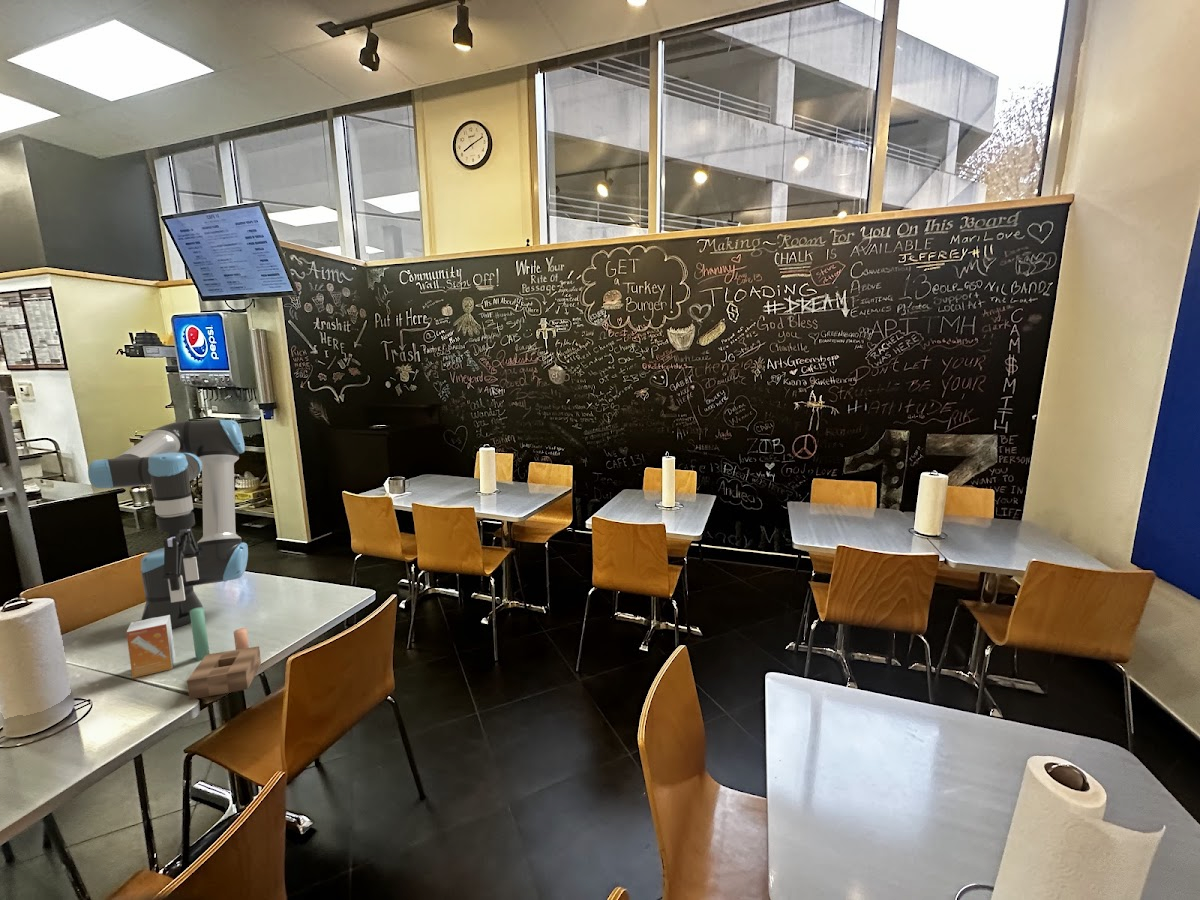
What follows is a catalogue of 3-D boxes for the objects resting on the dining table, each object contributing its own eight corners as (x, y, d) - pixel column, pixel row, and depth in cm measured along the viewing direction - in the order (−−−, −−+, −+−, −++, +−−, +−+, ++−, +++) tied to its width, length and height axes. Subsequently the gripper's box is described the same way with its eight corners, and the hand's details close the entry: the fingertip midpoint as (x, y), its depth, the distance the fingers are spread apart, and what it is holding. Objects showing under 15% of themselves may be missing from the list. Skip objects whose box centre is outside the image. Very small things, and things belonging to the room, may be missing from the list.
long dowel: (198, 655, 142) (192, 608, 139) (211, 653, 143) (205, 606, 140) (194, 661, 139) (187, 613, 137) (207, 659, 140) (201, 611, 138)
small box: (132, 679, 131) (125, 632, 129) (137, 667, 136) (130, 621, 134) (172, 669, 135) (166, 623, 133) (176, 658, 140) (170, 613, 138)
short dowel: (238, 652, 143) (235, 629, 142) (250, 650, 144) (248, 627, 143) (234, 658, 140) (232, 634, 139) (247, 655, 141) (244, 632, 140)
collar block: (208, 672, 134) (205, 654, 133) (260, 663, 138) (259, 646, 137) (189, 699, 123) (186, 680, 122) (247, 689, 127) (245, 670, 126)
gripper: (171, 502, 140) (181, 574, 144) (138, 529, 118) (151, 614, 122) (204, 499, 143) (214, 570, 147) (179, 525, 121) (190, 607, 125)
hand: (185, 590), depth 134 cm, fingers open, 13 cm apart
